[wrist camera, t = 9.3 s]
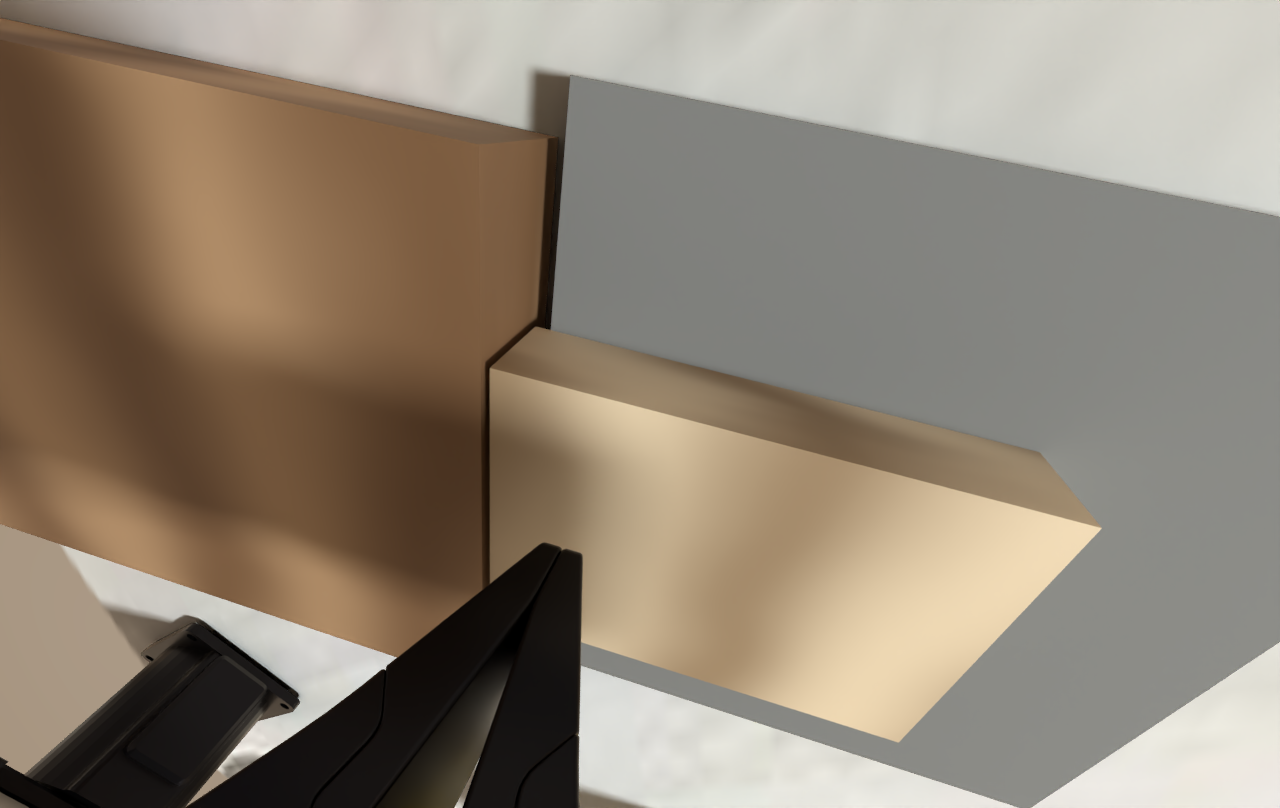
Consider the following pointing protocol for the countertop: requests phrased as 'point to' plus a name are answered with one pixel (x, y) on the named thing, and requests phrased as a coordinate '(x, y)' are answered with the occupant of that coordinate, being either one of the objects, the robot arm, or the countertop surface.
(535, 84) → the countertop surface
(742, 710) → the slate mat
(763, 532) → the birch tile
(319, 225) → the walnut board
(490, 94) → the countertop surface
